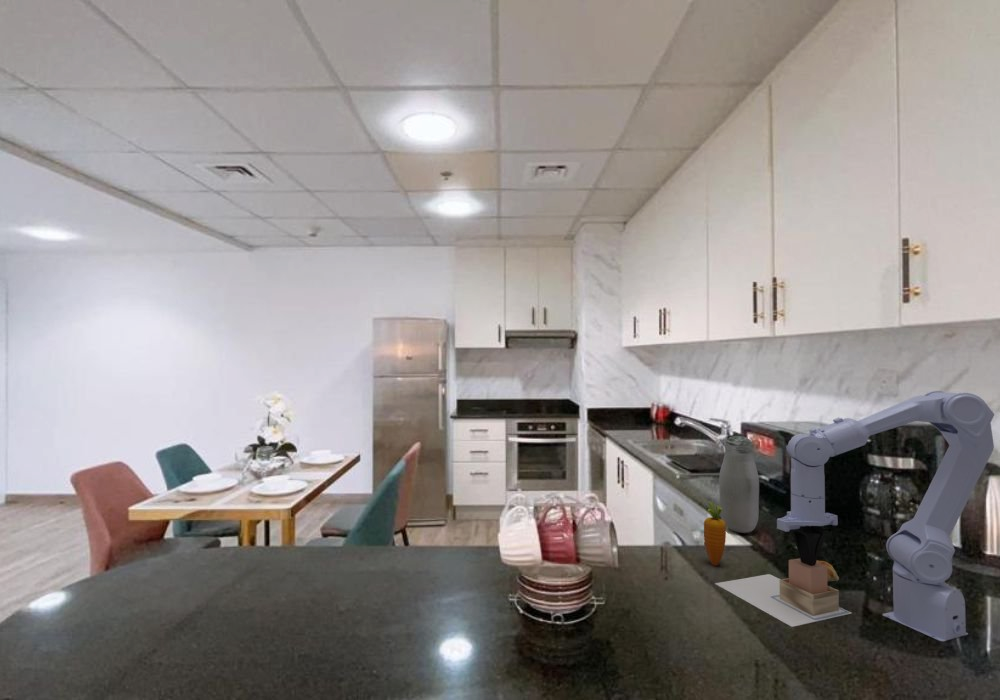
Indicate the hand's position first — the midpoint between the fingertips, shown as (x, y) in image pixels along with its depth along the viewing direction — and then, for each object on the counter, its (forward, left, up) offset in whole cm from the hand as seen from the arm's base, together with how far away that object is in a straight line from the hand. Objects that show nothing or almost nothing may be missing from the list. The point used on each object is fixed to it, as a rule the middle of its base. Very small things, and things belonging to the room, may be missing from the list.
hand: (808, 563), depth 93 cm
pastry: (+9, -14, -9) cm, 19 cm away
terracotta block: (0, 0, -5) cm, 5 cm away
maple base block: (0, 0, -8) cm, 8 cm away
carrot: (+21, +3, -9) cm, 23 cm away
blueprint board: (+4, +3, -8) cm, 10 cm away
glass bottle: (+39, -24, -9) cm, 47 cm away
